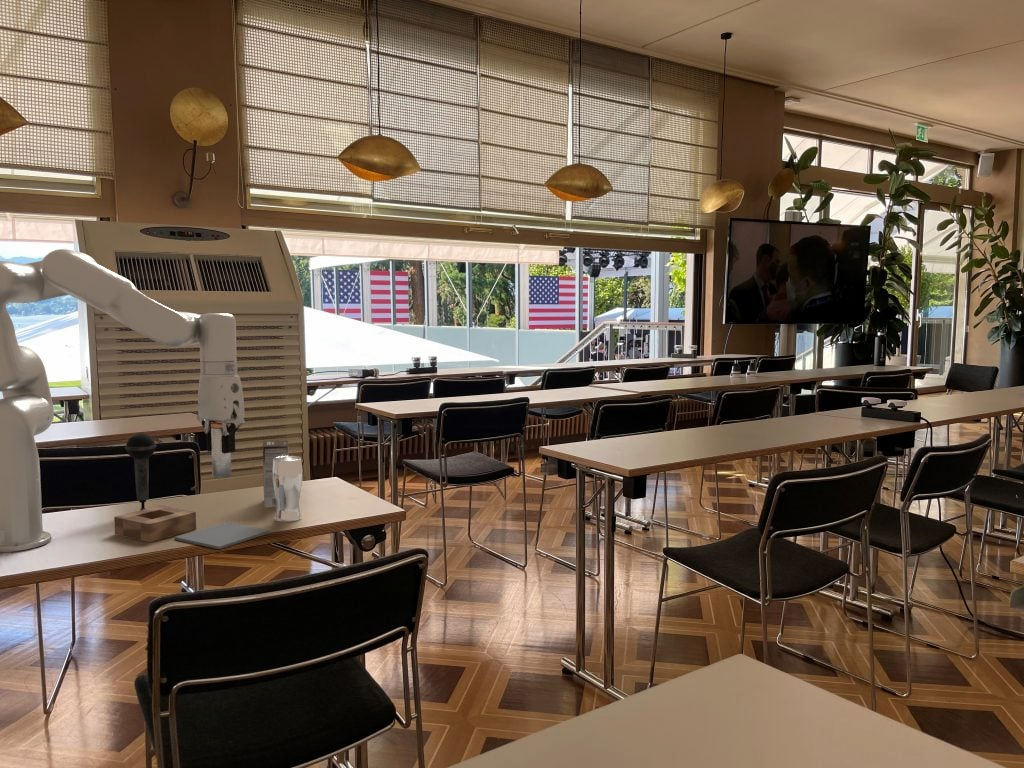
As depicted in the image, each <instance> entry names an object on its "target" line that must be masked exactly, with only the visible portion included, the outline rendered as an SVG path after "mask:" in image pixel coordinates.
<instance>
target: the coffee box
mask: <svg viewBox="0 0 1024 768" xmlns="http://www.w3.org/2000/svg"><path fill="white" fill-rule="evenodd" d="M289 454H290V453H289V442H288V440H287V439H285V440H278V439H276V440H275V439H273V440H263V441H262V472H263V473H262V476H263V499H264V500H263V501H264V502H263V503H264V505H263V506H264V508H267V509H268V508H277V502H276V496H275V491H274V486H273V459H274V458H276V457H281V456H290V455H289Z"/></svg>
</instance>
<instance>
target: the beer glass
mask: <svg viewBox="0 0 1024 768" xmlns="http://www.w3.org/2000/svg"><path fill="white" fill-rule="evenodd" d="M273 486H274V491H275V496H276V502H277V507H276V511H275V516H274V518H275V521H276V522H279V523H291V522H297V521H299V519H300V520H301V519H302V513H301V510H300V508H301V507H300V500H301V499H300V498H301V491H302V486H303V464H302V457H301V456H299V455H297V456H296V455H289V456H281V457H276V458H274V459H273Z"/></svg>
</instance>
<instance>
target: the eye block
mask: <svg viewBox="0 0 1024 768" xmlns="http://www.w3.org/2000/svg"><path fill="white" fill-rule="evenodd" d="M196 516H197V512H196V511H194V510H193V511H192V510H188V509H182V508H176V507H173V506H172V507H171V506H166V505H156V506H153V507H149V508H145V509H144V510H137V511H133V512H129V513H125V514H120V515H116V516H114V519H113V520H114V534H115V535H116V536H117V535H118V536H121V537H126V538H130V539H135V540H139V541H143V542H148V543H152V542H155V541H159V540H163V539H166V538H169V537H173V536H177V535H181V534H182V533H183V534H185V533H186V532H187V533H188V532H191V531H195V530H196V529H197V517H196Z"/></svg>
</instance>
